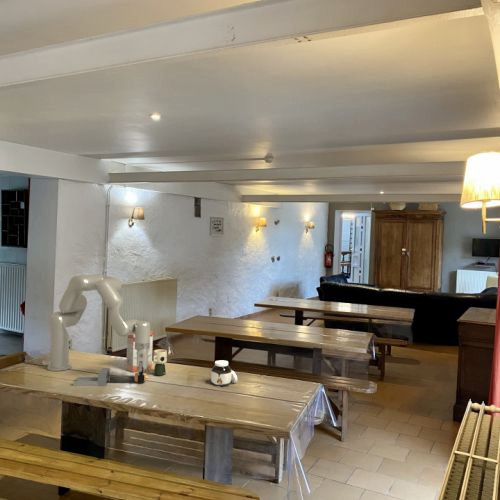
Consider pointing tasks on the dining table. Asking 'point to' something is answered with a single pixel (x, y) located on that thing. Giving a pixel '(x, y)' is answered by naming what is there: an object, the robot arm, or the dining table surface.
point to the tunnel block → (94, 379)
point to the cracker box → (133, 353)
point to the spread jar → (222, 374)
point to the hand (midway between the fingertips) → (141, 380)
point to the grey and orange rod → (126, 378)
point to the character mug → (160, 361)
